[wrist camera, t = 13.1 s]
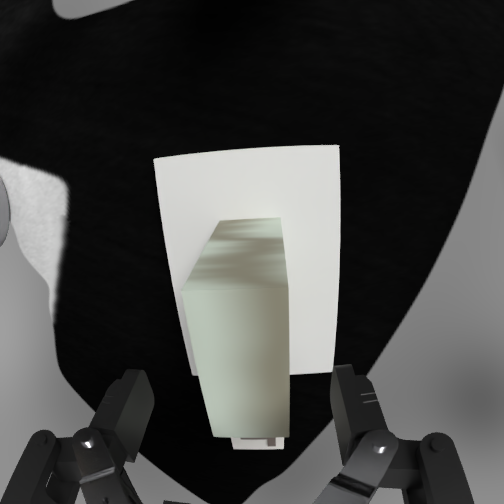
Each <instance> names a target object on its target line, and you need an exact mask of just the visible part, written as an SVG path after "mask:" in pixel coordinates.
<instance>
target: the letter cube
mask: <svg viewBox="0 0 504 504" xmlns="http://www.w3.org/2000/svg"><path fill="white" fill-rule="evenodd" d="M231 440H232V445H233V449H284V437H275V438H233V437H231Z"/></svg>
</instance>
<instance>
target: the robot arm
mask: <svg viewBox="0 0 504 504" xmlns="http://www.w3.org/2000/svg"><path fill="white" fill-rule="evenodd" d="M8 228H9V204H8V198H7V194H6V190H5V187H4V184H3V182H2V180H1V178H0V246H1V245H2V244H3V242H4V241H5V239H6V236H7V232H8ZM330 400H331V407H332V412H333V417H334V422H335V427H336V432H337V437H338V443H339V448H340V454H341V459H342V464H343V466H344V467H343V469H342V470H341V472H340V473H339V474H338V475H337V476H336V477H334V478H333V479H332V480H331V481H330V482H329V483H328V484H327V486H326V487H325V488H324V490H323V491H322V493H321V494H320V495H319V496H318V497H317V499H316V500H315V501H314V503H313V504H369V502H370V501H371V499H372V497H373V496H374V494H375V493H376V491H377V489H378V487H382V488H398V489H401V490H402V494H403V500H404V504H474V501H473V498H472V494H471V491H470V488H469V485H468V482H467V479H466V476H465V473H464V470H463V467H462V464H461V461H460V459H459V456H458V453H457V450H456V448H455V445H454V442H453V440H452V439H451V438H450V437H449V436H447V435H446V434H443V433H438V432H435V433H431V434H428V435H427V436H425V437H424V438H423V439H422V441H414V440H403V439H399V438H397V437H396V436H395V435H394V434H393V433H391V432H390V431H389V430H388V428H387V425H386V422H385V419H384V416H383V413H382V410H381V407H380V405H379V402H378V399H377V396H376V394H375V391H374V388H373V385H372V383H371V381H370V380H369V379H368V378H367V377H366V376H365V375H358V376H355V374H354V371H353V368H352V365H351V364H349V365H340V366H333V370H332V380H331V390H330ZM101 402H102V403H100V405H99V407H98V409H97V411H96V413H95V415H94V417H93V419H92V421H91V423H90V425H89V427H88V428H83V429H80V430H79V431H77V432H76V433H75V434H74V436H73V437H68V438H67V437H66V438H56V436H55V435H54V434H53V433H52V432H51V431H49V430H40V431H38V432H36V433H34V434H33V435H32V437H31V438H30V440H29V442H28V444H27V446H26V448H25V450H24V452H23V454H22V456H21V458H20V460H19V462H18V464H17V466H16V468H15V471H14V473H13V475H12V477H11V479H10V481H9V484H8V486H7V488H6V490H5V493H4V495H3V497H2V499H1V502H0V504H75V500H76V498H77V495H78V492H79V488H80V487H81V489H82V492H83V495H84V498H85V501H86V504H143V503H142V502H141V500H140V499H139V497H138V495H137V493H136V491H135V489H134V487H133V485H132V483H131V481H130V479H129V477H128V475H127V473H126V471H125V469H124V467H123V466H124V464H125V461H127V462H133V463H134V462H135V459H136V456H137V453H138V450H139V447H140V444H141V441H142V439H143V436H144V433H145V430H146V427H147V424H148V421H149V418H150V415H151V412H152V410H153V407H154V394H153V391H152V389H151V386H150V384H149V381H148V378H147V375H146V373H145V371H144V370H135V369H127V370H126V371H125V373H124V375H123V377H122V379H121V380H119V379H117V380H116V381H115V382H114V383H112V384H111V385H110V386H109V388H108V390H107V392H106V394H105V397H103V399H102V401H101ZM51 472H52V474H51ZM50 475H51V477H50ZM49 477H50V479H49ZM48 479H49V482H48ZM47 482H48V484H47ZM46 484H47V487H46ZM163 504H189V503H179V502H172V501H165V500H164V502H163Z"/></svg>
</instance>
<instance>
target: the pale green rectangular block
mask: <svg viewBox="0 0 504 504" xmlns="http://www.w3.org/2000/svg"><path fill="white" fill-rule="evenodd" d="M181 293H182V298H183V304H184V309H185V314H186V319H187V325H188V330H189V334H190V339H191V344H192V349H193V354H194V358H195V363H196V367H197V372H198V376H199V380H200V385H201V389H202V393H203V397H204V401H205V405H206V409H207V413H208V417H209V421H210V425H211V429H212V433H213V436H214V437H233V438H275V437H289V394H290V353H289V287H288V277H287V268H286V259H285V251H284V242H283V234H282V225H281V217H276V218H256V219H238V220H220V221H219V223H218V224H217V226H216V228H215V230H214V232H213V233H212V235H211V237H210V239H209V241H208V242H207V244H206V246H205V248H204V250H203V251H202V253H201V255H200V257H199V259H198V260H197V262H196V264H195V266H194V268H193V270H192V271H191V273H190V275H189V277H188V279H187V281H186V283H185V284H184V286H183V288H182V290H181Z"/></svg>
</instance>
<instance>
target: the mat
mask: <svg viewBox="0 0 504 504" xmlns="http://www.w3.org/2000/svg"><path fill="white" fill-rule="evenodd" d="M154 166H155V174H156V183H157V190H158V198H159V205H160V212H161V219H162V225H163V232H164V238H165V244H166V250H167V256H168V262H169V267H170V273H171V278H172V284H173V289H174V294H175V299H176V304H177V309H178V314H179V319H180V323H181V328H182V333H183V337H184V341H185V346H186V350H187V354H188V359H189V363H190V367H191V371H192V375H198V372H197V367H196V363H195V358H194V354H193V349H192V344H191V339H190V334H189V330H188V325H187V319H186V314H185V309H184V304H183V298H182V293H181V290H182V288H183V286H184V284H185V283H186V281H187V279H188V277H189V275H190V273H191V271H192V270H193V268H194V266H195V264H196V262H197V260H198V259H199V257H200V255H201V253H202V251H203V250H204V248H205V246H206V244H207V242H208V241H209V239H210V237H211V235H212V233H213V232H214V230H215V228H216V226H217V224H218V223H219V221H220V220H238V219H256V218H276V217H281V225H282V234H283V242H284V251H285V259H286V268H287V277H288V287H289V353H290V375H291V374H308V373H322V372H332V370H333V361H334V349H335V337H336V323H337V308H338V289H339V263H340V163H339V145H312V146H284V147H265V148H250V149H237V150H225V151H214V152H204V153H195V154H186V155H178V156H170V157H163V158H156V159H154Z"/></svg>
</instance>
